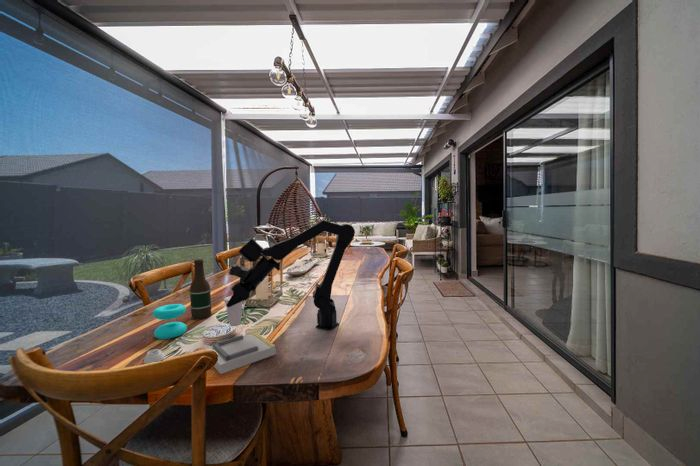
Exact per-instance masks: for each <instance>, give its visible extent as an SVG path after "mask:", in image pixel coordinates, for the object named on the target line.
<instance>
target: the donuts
mask: <svg viewBox="0 0 700 466" xmlns="http://www.w3.org/2000/svg"><path fill="white" fill-rule="evenodd" d="M186 310H187V309H186V305H184V304H183V303H182V304H181V303H171V304H165V305H162V306H159V307H157V308H155V309H154V310H153V311H152V315H153V317H154V318H155V319H158V320H161V321H165V320H166V321H167V320H172V319H176V318H179V317H181V316H182V315H184V313H185V312H186ZM187 329H188V326H187V325H186V324H185V323H184V322H181V321H171V322H167V323H164V324H161V325H159V326H158V327H157V328H155V330H154V332H153V336H154V337H155V338H157V339H159V340H167V339H168V340H169V339H172V338H173V339H174V338H177V337H180V336H182V335H183V334H185V333H186V332H187Z"/></svg>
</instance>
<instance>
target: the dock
mask: <svg viewBox="0 0 700 466" xmlns="http://www.w3.org/2000/svg"><path fill="white" fill-rule="evenodd" d="M205 349H212V350H215V351H216V352H217V353H218V361H217V363H216V365H215V366H213V367H214V369H215V370H216V371H217V372H218V374H220V375H222V374H225V373H227V372H231V371H233V370H236V369H239V368H242V367H244V366H247V365H250V364H253V363H256V362H258V361H261V360H264V359H266V358H270V357H273V356H275V355H277V352H276V351H277V350H276V349H277V348H276V345H275V344H274V343H272V342H271V341H269V339H266V338H265V337H263V336H262V335H261V334H259V333H258V332H252V333H251V334H248V335H242V334H241V335H237V336H235V337H231V338H227V339H224V340H220V341H217V342H213V343H212V344H211V345H209V346H206V347H204V350H205Z"/></svg>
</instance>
